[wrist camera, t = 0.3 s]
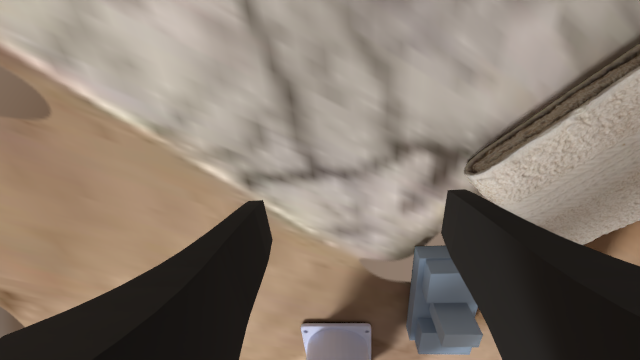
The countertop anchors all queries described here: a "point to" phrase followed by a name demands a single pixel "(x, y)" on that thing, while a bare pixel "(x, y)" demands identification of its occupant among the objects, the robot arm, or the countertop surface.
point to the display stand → (440, 305)
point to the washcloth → (572, 158)
